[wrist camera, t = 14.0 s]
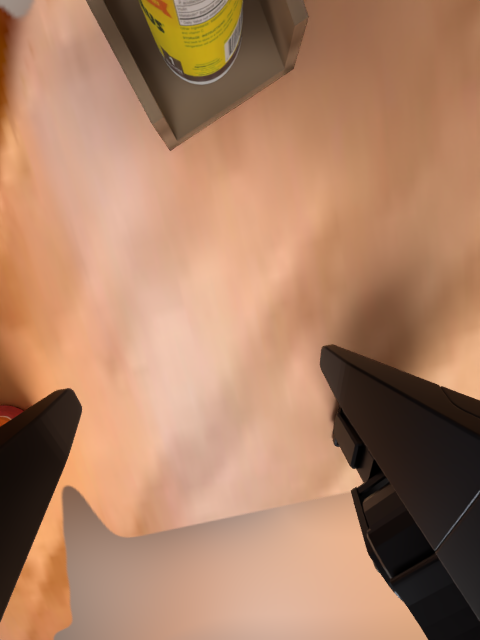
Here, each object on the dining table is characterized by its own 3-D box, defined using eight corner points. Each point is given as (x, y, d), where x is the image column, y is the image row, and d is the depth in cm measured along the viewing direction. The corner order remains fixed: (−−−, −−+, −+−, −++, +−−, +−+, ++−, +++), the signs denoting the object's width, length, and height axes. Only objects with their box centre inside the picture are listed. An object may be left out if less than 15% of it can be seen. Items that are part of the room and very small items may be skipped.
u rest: (293, 68, 15) (308, 16, 12) (170, 150, 17) (152, 124, 13) (227, -114, 13) (223, -245, 9) (90, 0, 14) (43, -78, 11)
